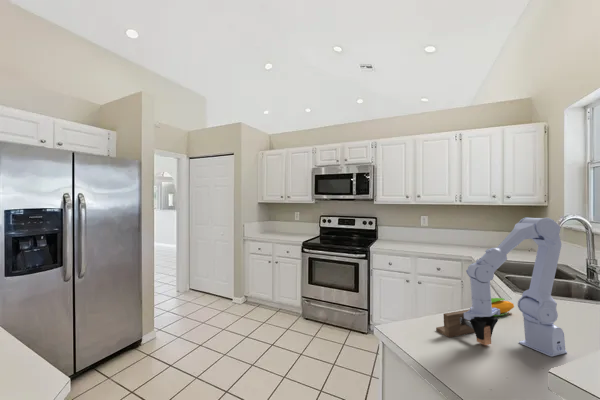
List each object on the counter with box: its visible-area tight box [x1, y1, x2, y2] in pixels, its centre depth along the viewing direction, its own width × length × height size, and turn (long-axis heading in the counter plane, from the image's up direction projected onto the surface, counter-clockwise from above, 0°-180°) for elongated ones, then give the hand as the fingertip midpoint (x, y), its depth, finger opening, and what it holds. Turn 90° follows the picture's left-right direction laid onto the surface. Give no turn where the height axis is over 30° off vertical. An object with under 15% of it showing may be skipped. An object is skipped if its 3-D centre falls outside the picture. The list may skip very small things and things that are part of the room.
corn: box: [491, 297, 515, 318], centre depth 115 cm, size 7×8×20 cm
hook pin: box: [460, 318, 492, 346], centre depth 94 cm, size 13×3×6 cm, turn 16°
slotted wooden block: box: [435, 308, 475, 339], centre depth 100 cm, size 6×14×8 cm, turn 106°
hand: (483, 337), depth 89 cm, fingers closed on hook pin, 3 cm apart
